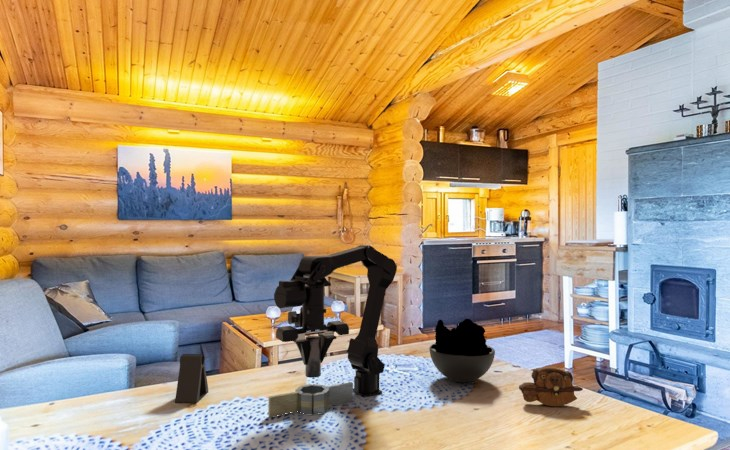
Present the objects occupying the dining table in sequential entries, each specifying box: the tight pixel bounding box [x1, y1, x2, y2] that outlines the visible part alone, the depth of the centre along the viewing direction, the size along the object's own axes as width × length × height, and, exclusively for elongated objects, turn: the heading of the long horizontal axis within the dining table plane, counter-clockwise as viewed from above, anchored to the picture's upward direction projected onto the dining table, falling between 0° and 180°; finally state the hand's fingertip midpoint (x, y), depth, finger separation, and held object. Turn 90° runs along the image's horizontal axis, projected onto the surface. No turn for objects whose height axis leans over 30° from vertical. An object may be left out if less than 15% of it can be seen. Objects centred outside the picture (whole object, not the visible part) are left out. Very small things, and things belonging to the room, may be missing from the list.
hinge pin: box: [304, 334, 322, 379], centre depth 128 cm, size 4×4×10 cm
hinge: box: [267, 381, 354, 418], centre depth 128 cm, size 24×8×5 cm, turn 120°
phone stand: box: [174, 353, 209, 404], centre depth 136 cm, size 9×6×12 cm, turn 178°
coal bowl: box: [428, 318, 496, 383], centre depth 152 cm, size 20×20×19 cm
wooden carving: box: [518, 366, 584, 407], centre depth 131 cm, size 16×5×10 cm, turn 89°
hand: (313, 363), depth 128 cm, fingers closed on hinge pin, 4 cm apart
